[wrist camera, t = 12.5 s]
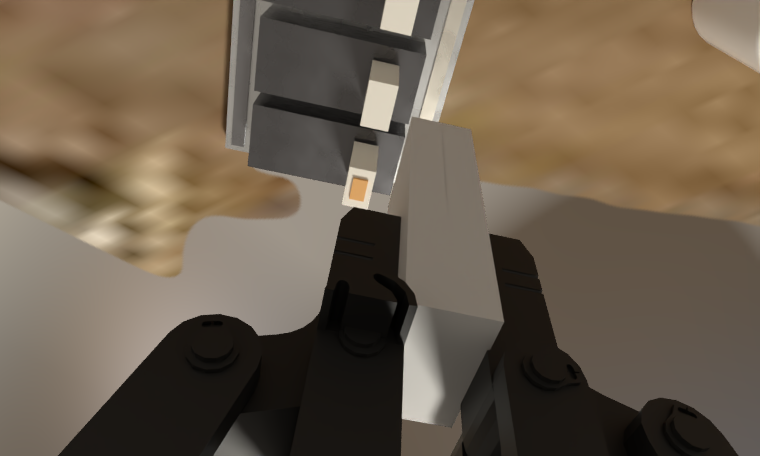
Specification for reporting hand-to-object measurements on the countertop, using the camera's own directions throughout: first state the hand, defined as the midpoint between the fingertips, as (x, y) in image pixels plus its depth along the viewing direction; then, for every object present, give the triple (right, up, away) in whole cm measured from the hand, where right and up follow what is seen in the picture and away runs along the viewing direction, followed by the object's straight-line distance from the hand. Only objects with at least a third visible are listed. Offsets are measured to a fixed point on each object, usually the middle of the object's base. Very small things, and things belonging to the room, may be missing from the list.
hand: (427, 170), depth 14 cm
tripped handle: (-3, +3, +26) cm, 26 cm away
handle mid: (-1, +8, +22) cm, 24 cm away
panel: (-4, +11, +26) cm, 28 cm away
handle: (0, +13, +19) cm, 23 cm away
